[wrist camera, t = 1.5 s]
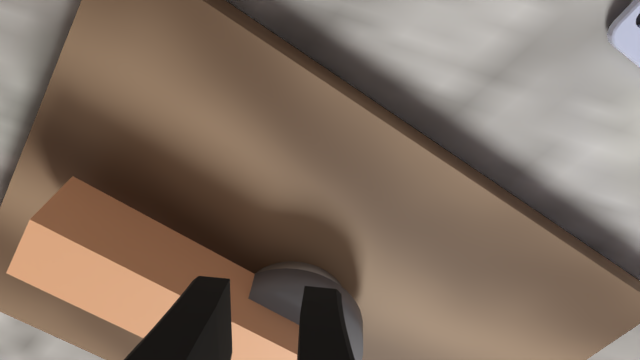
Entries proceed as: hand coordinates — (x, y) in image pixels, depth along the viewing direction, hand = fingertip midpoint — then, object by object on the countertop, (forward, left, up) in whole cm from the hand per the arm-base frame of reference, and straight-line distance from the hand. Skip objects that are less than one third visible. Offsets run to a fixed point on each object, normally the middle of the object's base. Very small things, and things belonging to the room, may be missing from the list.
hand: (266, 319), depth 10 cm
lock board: (+6, +3, -8) cm, 11 cm away
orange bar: (+6, 0, -6) cm, 8 cm away
